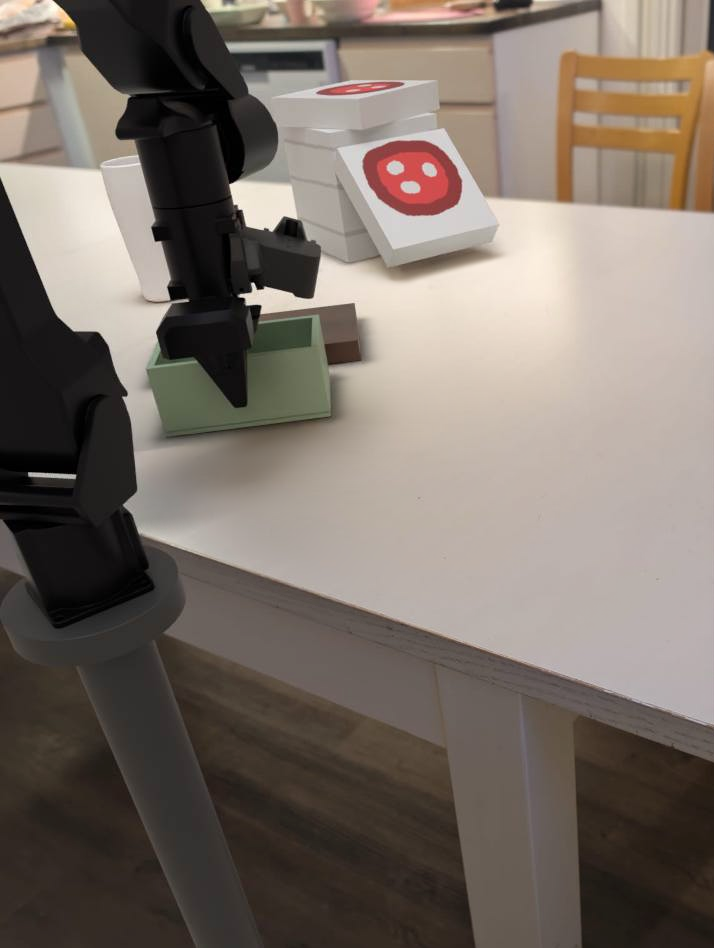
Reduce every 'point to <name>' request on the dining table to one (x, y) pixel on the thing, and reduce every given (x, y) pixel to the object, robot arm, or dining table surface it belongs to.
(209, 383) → the cutlery holder
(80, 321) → the dining table surface
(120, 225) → the drinking glass
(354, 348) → the bread board
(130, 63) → the robot arm
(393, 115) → the pizza boxes
